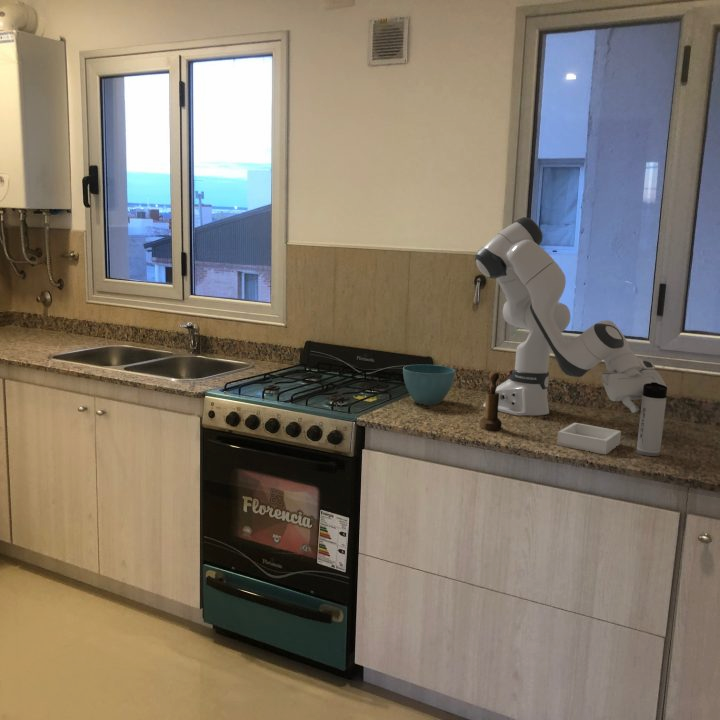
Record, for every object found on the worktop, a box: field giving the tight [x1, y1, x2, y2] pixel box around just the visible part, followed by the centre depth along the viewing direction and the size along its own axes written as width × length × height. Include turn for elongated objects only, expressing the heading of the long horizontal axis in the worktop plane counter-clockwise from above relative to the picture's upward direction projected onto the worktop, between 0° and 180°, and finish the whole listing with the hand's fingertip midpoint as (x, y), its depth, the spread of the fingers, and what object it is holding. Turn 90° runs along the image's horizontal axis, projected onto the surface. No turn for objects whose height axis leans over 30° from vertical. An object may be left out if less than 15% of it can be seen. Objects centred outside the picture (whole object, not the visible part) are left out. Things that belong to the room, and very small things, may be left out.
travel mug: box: [636, 382, 668, 457], centre depth 208 cm, size 6×7×20 cm
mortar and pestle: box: [479, 370, 502, 431], centre depth 229 cm, size 7×6×18 cm
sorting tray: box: [556, 422, 622, 456], centre depth 216 cm, size 14×14×4 cm
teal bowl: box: [402, 364, 456, 406], centre depth 261 cm, size 18×18×12 cm
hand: (648, 410), depth 208 cm, fingers open, 8 cm apart
